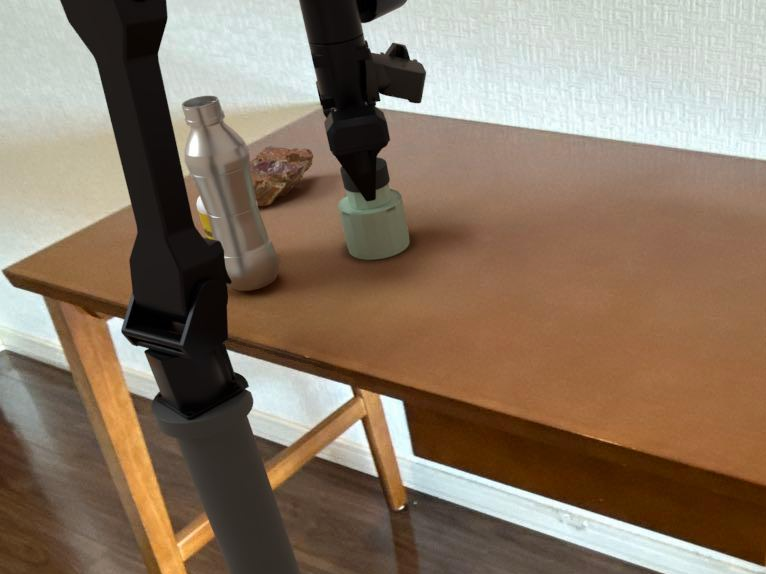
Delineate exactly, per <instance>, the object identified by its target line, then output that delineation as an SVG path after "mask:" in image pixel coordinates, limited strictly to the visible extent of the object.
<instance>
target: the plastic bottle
mask: <svg viewBox="0 0 766 574" xmlns="http://www.w3.org/2000/svg"><path fill="white" fill-rule="evenodd" d="M181 109H182V112H183V115H184V122H185V124H186V125H187V126H189V127H190V130H189V133H188V135H187V138H186V142H185V146H184V150H183V154H184V155H183V156H184V157H183V158H184V164H185V166H186V169H187V171H188V172H189V175H190V177H191V180H192V181H193V183H194V186H195V188H196V190H197V192H198V194H199V196H200V197H201V200H202V203H203V205H204V208H205V210H206V214H207V216H208V219H209V222H210V227H211V231H212V236H213V240H217V241H220V242H221V244H222V247H223V249H224V256H225V267H226V270H227V273H228V276H229V277H230V279H231V281H232V283H231V284H227V283H226V284H227V287H229V288H230V289H231V290H234V291H240V292H247V291H253V290H255V291H256V290H259V289H262V288H264V287H266V286H268V285H270V284H272V283H274V281H275V280H276V279H277V277H278V274H279V271H280V265H279V255H278V253H277V250H276V248H275V246H274V244H273V242H272V240H271V238H270V237H269V234H268V231H267V228H266V226H265V222H264V220H263V218H262V215H261V212H260V209H259V206H258V204H257V201H256V195H255V190H254V185H253V179H252V171H251V163H250V161H251V156H250V155H251V154H250V151H249V150H250V149H249V146H248V145H247V143H246V141H245V140H244V138H243V137H242V136H241V135H240V134H239V133H238V132H237V131H235V130H234V128H232V127H231V126H230V125H228V124H227V123H226V122H225V120H224V119H225V118H226V114H225V111H224V110H223V108H222V105H221V101H220V99H219V97H218V96H217V95H200V96H196V97H192V98H189V99H187V100H185V101H183V102H181Z"/></svg>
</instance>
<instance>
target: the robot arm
mask: <svg viewBox="0 0 766 574" xmlns="http://www.w3.org/2000/svg"><path fill="white" fill-rule="evenodd" d="M407 1H408V0H298V2H299V7H300V11H301V15H302V20H303V24H304V30H305V34H306V39H307V42H308V46H309V51H310V56H311V59H312V65H313V69H314V74H315V77H316V81H315V85H316V90H317V94H318V99H319V104H320V106H321V109H322V113H323V115H324V117H325V120H324V121H323V124H324V130H325V134H326V138H327V143H328V147H329V152H330V153H332V155H333V156H334V157H335V159H336V160H337V161H338V163H339V164H340V166H341V167H343V168H344V170H345V171H346V173H347V174H348V175H349V177H350V178H351V180H352V181H353V183H354V184H355V186H356V187H357V189H358V190H359V192H360V193H361V194H362V196H363V197H364V199H365V200H366V201H373V200H375V199H376V163H377V157H378V155H379V153H381V151H382V150H383V149H384V148H386V147H387V146H388V144H389V142H391V137H390V132H389V125H388V121H387V119H386V116H385V113H384V111H383V110H381V109H380V108H378V107H377V103H378V102H381V100H382V99H381V96H380V95H383V96H387V97H391V98H396V99H401V100H406V101H408V102H409V103H410V104H411V103H412V104H421V103H422V100H423V94H424V90H425V89H424V88H425V84H426V83H425V82H426V79H427V78H426V76H427V70H426V69H425V67H424V65H423V63H422V62H420V61H418V59H415V58H413V59H411V57H410V53H409V51H408V48H407V46H406V44H402V43H398V42H392V43H391V44H390V46H389V47H388V49H387V50H386V51H385V52H382V51H380V53H375V52H372V51H371V48H369V47H370V46H369V43H368V42H369V41H368V40H367V39H366V40H365V33H364V29H363V25H362V24H367V23H368V24H369V23H371V22H373V21H375V20H377V19H379V18H382V17H383V16H385V15H387V14H389V13H392V12H394V11H396V10H397V9H400V8H401V7H403V6H404V5H405V4H406V3H407ZM59 2H60V4H61V7H62V10H63V12H64V14H65V17H66V19H67V21H68V23H69V26H71V28H72V29H73V30H74V31H75V33H76V34H77V35H78V37H79V38H80V40H81V41H82V43H83V44H84V45H85V47H86V48H87V49H88V51H89V52H90V54H91V55H92V56H93V58H94V61H95V63H96V67H97V71H98V74H99V78H100V83H101V87H102V90H103V94H104V99H105V103H106V106H107V111H108V114H109V118H110V124H111V127H112V131H113V136H114V140H115V144H116V148H117V151H118V155H119V159H120V164H121V168H122V173H123V176H124V181H125V184H126V188H127V192H128V197H129V201H130V205H131V208H132V212H133V216H134V221H135V225H136V236H135V239H134V243H133V246H132V249H131V253H130V256H129V262H128V263H129V270H130V278H131V279H130V281H131V290H132V291H131V295H130V298H129V302H128V304H127V305H128V306H127V308H126V312H125V314H124V315H125V316H124V319H123V322H122V326H121V329H120V332H121V335H122V336H123V337H124V338H125V339H126V340H127V341H128V342H129V343H130V345H131V346H134V347H141V348H145V350H144V351H143V353H144V355H145V358H146V360H147V362H148V363H147V364H148V365H149V368H150V370H151V372H152V376H153V378H154V381H155V382H156V385H157V387H158V390H159V391H160V393H159V394H158V393H157V394H158V395H157V394H155V396H156V400H157V401H158V402H159V403H161V404H162V405H164V406H166V407H167V408H169V409H170V410H172V411H174V412H175V413H177V414H178V415H180V416H182V417H183V418H185V419H187V420H193V419H195V418H197V417H199V416H200V415H202V414H204V413H206V412H208V411H210V410H211V409H213V408H215V407H217V406H219V405H221V404H222V403H224V402H226V401H228V400H230V399H231V398H233V397H235V396H237V395H239V394H241V393H242V392H243V388H242V386H241V385H239V384H237V383H235V382H233V381H234V380H235V379H236V376H235V373H234V372H235V370H234V367H233V364H232V361H231V358H230V355H229V352H228V349H227V346H226V344H225V343H224V342H226V341H227V340H229V326H228V325H229V323H228V303H229V288H228V285H227V284H231V283H232V281H231V279H230V277H229V276H228V273H227V270H226V267H225V256H224V249H223V247H222V244H221V242H220V241H217V240H212V239H207V237H203V235H202V234H201V232H200V231H199V230H198V229H197V226H196V225H195V222H194V219H193V214H192V209H191V205H190V200H189V196H188V190H187V186H186V181H185V176H184V172H183V167H182V164H181V163H182V162H181V158H180V153H179V148H178V144H177V140H176V135H175V130H174V125H173V119H172V117H171V111H170V107H169V103H168V102H169V101H168V97H167V93H166V88H165V83H164V78H163V75H162V74H163V73H162V69H161V65H160V58H159V51H160V49H161V48H160V47H161V44H162V41H163V38H164V33H165V30H166V27H167V24H168V17H169V16H168V4H167V0H59ZM226 283H227V284H226Z"/></svg>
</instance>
